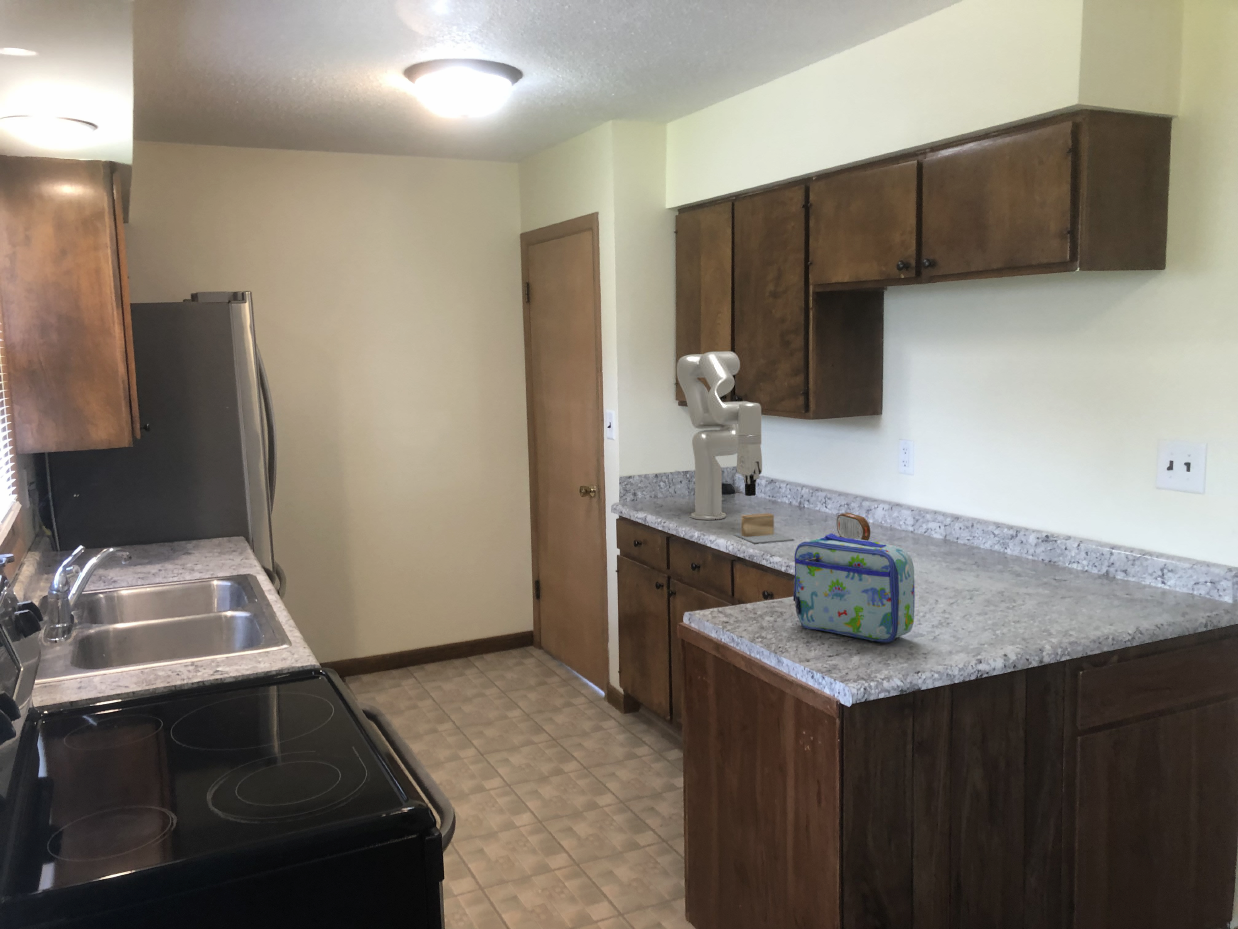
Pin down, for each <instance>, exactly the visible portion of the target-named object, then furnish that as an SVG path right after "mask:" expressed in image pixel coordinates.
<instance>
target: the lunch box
mask: <svg viewBox="0 0 1238 929" xmlns="http://www.w3.org/2000/svg"><path fill="white" fill-rule="evenodd" d="M793 584H794V585H793V598H792V599H793V602H794V605H795V614H796V615H797V618H798V621H799V622H800V624H801V625H802V627H803V628H805V629H807V630H816V631H817V630H818V631H823V632H828V633H834V634H837V635H842V636H846V637H847V636H848V637H851V638H856V639H861V640H868V641H871V642H878V643H891V642H893V641H894V640H895V639H896V638H899V637H903V636H904V635H907V634H909V633H910V632H911V631H912V629H913V627H914V621H915V593H916V592H915V566H914V562H913V560H912V557H911V555H910V554H909V552H907V551H906V550H905V549H904V548H901V547H898V546H897V545H896V546H895V545H893V544H892V545H891V544H889V543H883V542H879V541H872V540H868V541H867V540H859V539H851V538H842V537H841V536H837V535H836V534H834V533H833V532H832V533H828V534H826V535H825V536H822V537H818V538H815V539H811V540H808V541H803V542H800V543H799V544H798V545H797V546H796V549H795V551H794V578H793Z"/></svg>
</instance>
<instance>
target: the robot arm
mask: <svg viewBox="0 0 1238 929" xmlns="http://www.w3.org/2000/svg"><path fill="white" fill-rule="evenodd" d="M740 369H741V361H740V359H739V357H738V355H737V354H736V353H735V352H734V351H731V350H730V351H728V350H727V351H726V350H725V351H708V352H705V353H702V354H701V353H698V354H697V353H696V354H695V353H694V354H687V355H684V356H682V357H680V358H679V360H678V361H677V364H676V376H677V381H678V383H679V385H680V387H681V389H682V391H683V395H684V397H685V401H686V404H687V405H686V406H687V409H688V414H689V418H690V421H691V422H690V423H691V424H692V426H693V427H694V428H695V429H700V431H697V432H696V433H695V434H694V435H693V436H692V441H691V446H692V450H693V457H694V458H693V459H694V487H695V488H694V490H695V491H694V492H695V493H694V499H695V502H694V504H695V505H694V510H695V511H694V512H691V514H690V517H691V518H692V519H696V520H703V521H704V520H706V521H708V520H709V521H712V520H713V521H714V520H715V519H716V520H721V519H725V518H726V517H727V514H726V513H725V512H723V511H722V510H723V508H722V501H723V500H722V498H723V496H722V493H723V492H722V491H723V490H722V477H723V476H722V474H723V472H722V466H721V465H720V463H719V461H718V460H717V459H716V457H726V456H727V457H728V456H734V455H736V471H737V472H736V473H738V474H739V475H741V477H742V478H743V483H744V496H747V497H753V496H757V491H756V490H757V485H756V484H757V480H759V479H760V475H761V474H762V473H763V458H762V457H763V456H762V446H761V445H762V405H761V404H760V403H759V402H750V401H746V400H743V401H722V400H721V397H723V396H725V395H727V394H729V393H730V392H731V391H732V390H733V388H734V386H735V383H736V382H735V378H734V376H735V375H736V374H738V373H739V371H740ZM698 378H705V380H706V382H707V383H708V385H709V387H710V389H709V390H708V388H707V387H706V386H705V385H704V383H703V382H701V381H700V380H699V379H698ZM703 429H704V430H703Z"/></svg>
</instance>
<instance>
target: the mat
mask: <svg viewBox="0 0 1238 929" xmlns="http://www.w3.org/2000/svg"><path fill="white" fill-rule="evenodd" d="M734 535H735V536H734ZM733 536H734V537H736V538H739V537H740V538H739V539H741V538H743V539H742V540H744V539H745V540H744V541H746V540H747V541H746V542H748V541H749V542H748V543H751V542H752V543H751V544H753V543H754V545H758V544H757V543H761V544H768V543H767V542H772V543H780V542H781V543H782V542H793V541H795V539H794V538H793V537H790V536H788V535H784V534H782V533H780V532H776V531H774V535H762V536H751V537H745V536H743V535H741V532H740V533H739V532H737V533H733Z"/></svg>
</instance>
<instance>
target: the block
mask: <svg viewBox="0 0 1238 929" xmlns="http://www.w3.org/2000/svg"><path fill="white" fill-rule="evenodd" d="M774 516H775V515H774V514H772V513H769V512H767V513H755V514H752V513H751V514H741V515H740V517H741V518H740V519H741V520H740V527H741V528H740V530H741V531H740V533H741V535H743V536H745V537H751V536H762V535H774V532H775V527H774V526H775V525H774V524H775V521H774V520H775V519H774V518H775V517H774Z"/></svg>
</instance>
